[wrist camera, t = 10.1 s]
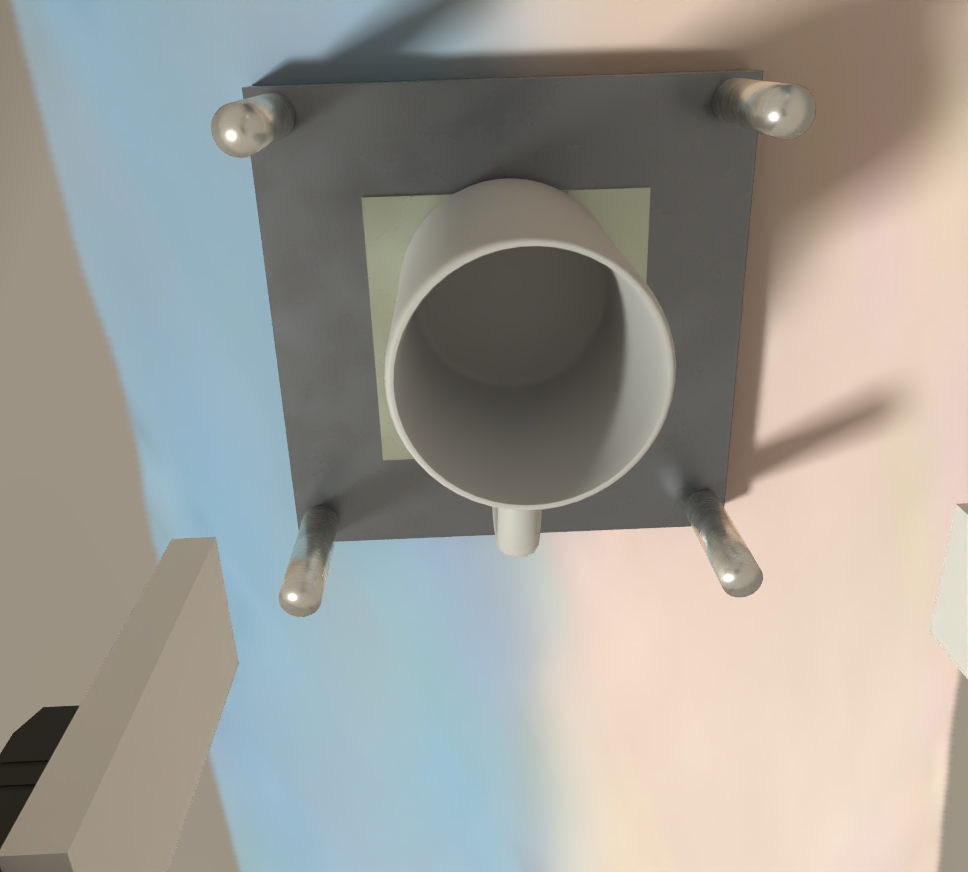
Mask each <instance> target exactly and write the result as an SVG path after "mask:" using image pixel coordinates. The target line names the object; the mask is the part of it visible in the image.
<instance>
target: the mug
mask: <svg viewBox="0 0 968 872" xmlns="http://www.w3.org/2000/svg"><path fill="white" fill-rule="evenodd" d="M675 376H676V359H675V348H674V343H673V339H672V335H671V330H670V327H669V324H668V322H667V319H666V317H665V314H664V312H663V309H662V307H661V306H660V304H659V302H658V300H657V299H656V297H655V295H654V293H653V292H652V290H651V289H650V288H649V286H648V285H647V284H646V283H645V281H644V280H643V279H642V277H641V276H640V275H639V274H638V272H637V271H636V270H635V269H634V267H633V266H632V265H631V264H630V263H629V261H628V260H627V259H626V258H625V257H624V255H623V254H622V253H621V252H620V251H619V249H618V248H617V247H616V246H615V244H614V243H613V242H612V241H611V240H610V238H609V237H608V236H607V234H606V233H605V231H604V230H603V228H602V227H601V226H600V224H599V223H598V222H597V221H596V219H595V218H594V217H593V215H592V214H591V213H590V212H589V211H588V210H587V209H586V208H585V207H583V206H582V205H581V204H580V203H579V202H577V201H576V200H575V199H573V198H572V197H570V196H569V195H568V194H566V193H564V192H562V191H560V190H558V189H556V188H554V187H552V186H549V185H546V184H544V183H541V182H536V181H532V180H527V179H515V178H507V179H495V180H490V181H484V182H481V183H478V184H475V185H472V186H469V187H467V188H465V189H463V190H461V191H458V192H456V193H455V194H453V195H452V196H450V197H449V198H447V199H446V200H444V201H443V202H442V203H440V204H439V205H438V206H437V207H436V208H435V209H434V210H432V211H431V213H430V214H429V215H428V216H427V217H426V218H425V220H424V221H423V222H422V223H421V225H420V226H419V228H418V229H417V231H416V232H415V234H414V236H413V238H412V240H411V242H410V244H409V246H408V248H407V251H406V254H405V257H404V260H403V263H402V269H401V274H400V280H399V290H398V295H397V300H396V305H395V310H394V315H393V320H392V324H391V329H390V334H389V340H388V345H387V351H386V356H385V377H384V379H385V389H386V398H387V402H388V406H389V410H390V415H391V417H392V420H393V423H394V425H395V428H396V430H397V432H398V434H399V436H400V438H401V440H402V441H403V443H404V445H405V447H406V448H407V449H408V451H409V452H410V453H411V455H412V456H413V457H414V459H415V460H416V461H417V462H418V463H419V464H420V465H421V467H422V468H423V469H424V470H425V471H426V472H427V473H428V474H429V475H431V476H432V477H433V478H434V479H436V480H437V481H438V482H440V483H441V484H442V485H444V486H445V487H447V488H449V489H450V490H452V491H454V492H455V493H457V494H459V495H461V496H463V497H466V498H468V499H470V500H473V501H475V502H478V503H482V504H485V505H488V506H492V511H493V523H494V532H495V538H496V543H497V546H498V548H499V549H500V550H501V552H502V553H504V554H506V555H508V556H512V557H524V556H528V555H530V554H532V553H534V551H535V550H536V548H537V547H538V545H539V538H540V529H541V513H542V509H548V508H554V507H560V506H564V505H567V504H570V503H574V502H577V501H580V500H582V499H584V498H587V497H589V496H591V495H594V494H596V493H598V492H599V491H601V490H603V489H605V488H606V487H608V486H610V485H611V484H613V483H614V482H615V481H617V480H618V479H619V478H621V477H622V476H624V475H625V474H626V473H627V472H628V471H629V470H630V469H631V468H632V467H633V466H634V465H635V464H636V463H638V461H639V460H640V459H641V458H642V457H643V455H644V454H645V453H646V452H647V451H648V449H649V448H650V446H651V445H652V443H653V442H654V440H655V439H656V437H657V435H658V434H659V432H660V430H661V428H662V426H663V423H664V421H665V419H666V417H667V414H668V411H669V408H670V404H671V401H672V397H673V392H674V386H675Z"/></svg>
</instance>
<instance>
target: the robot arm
mask: <svg viewBox="0 0 968 872" xmlns="http://www.w3.org/2000/svg"><path fill="white" fill-rule="evenodd" d="M930 632H931V634H932V635H933V636H934V638H935V639H936V640H937V641H938V643H939V644H940V645H941V646H942V648H943V649H944V650H945V651H946V653H947V654H948V655H949V656H950V658H951V659H952V660H953V661H954V663H955V664H956V665H957V666H958V668H959V669H960V670H961V671H962V673H963V674H964V675H965V676H966V678H967V679H968V503H967V504H956V507H955V512H954V516H953V521H952V526H951V531H950V535H949V540H948V545H947V550H946V555H945V559H944V564H943V569H942V574H941V578H940V583H939V588H938V593H937V597H936V602H935V607H934V612H933V616H932V621H931V626H930ZM238 664H239V662H238V657H237V651H236V646H235V640H234V635H233V629H232V624H231V618H230V613H229V607H228V602H227V596H226V591H225V585H224V580H223V574H222V569H221V563H220V558H219V552H218V547H217V541H216V537H207V538H185V539H172V540H171V542H170V543H169V545H168V547H167V549H166V551H165V553H164V554H163V556H162V558H161V560H160V562H159V563H158V565H157V567H156V569H155V571H154V573H153V574H152V576H151V578H150V580H149V582H148V583H147V585H146V587H145V589H144V590H143V592H142V594H141V596H140V598H139V600H138V601H137V603H136V605H135V607H134V609H133V611H132V612H131V614H130V616H129V618H128V620H127V621H126V623H125V625H124V627H123V629H122V630H121V632H120V634H119V636H118V637H117V639H116V641H115V643H114V645H113V646H112V648H111V650H110V652H109V654H108V656H107V657H106V659H105V661H104V663H103V665H102V666H101V668H100V670H99V672H98V674H97V675H96V677H95V679H94V681H93V683H92V684H91V686H90V688H89V690H88V692H87V693H86V695H85V697H84V699H83V701H82V703H81V704H80V706H61V707H43V708H42V709H41V710H40V711H39V712H37V713H36V714H35V715H34V716H33V717H32V718H31V719H29V720H28V721H27V722H26V723H25V724H23V725H22V726H21V727H20V728H19V729H18V730H17V731H15V732H14V733H13V734H12V736H11V738H10V740H9V741H8V743H7V744H6V746H5V747H4V749H3V750H2V752H1V754H0V872H168V871H169V868H170V864H171V861H172V859H173V856H174V853H175V850H176V847H177V844H178V841H179V838H180V835H181V832H182V829H183V826H184V823H185V820H186V817H187V814H188V812H189V808H190V806H191V803H192V800H193V797H194V794H195V791H196V788H197V785H198V782H199V779H200V776H201V773H202V770H203V767H204V764H205V761H206V758H207V755H208V753H209V750H210V747H211V744H212V741H213V738H214V735H215V732H216V729H217V726H218V723H219V720H220V717H221V714H222V711H223V708H224V705H225V702H226V699H227V696H228V694H229V691H230V688H231V685H232V682H233V679H234V676H235V673H236V670H237V667H238Z"/></svg>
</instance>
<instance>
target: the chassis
mask: <svg viewBox="0 0 968 872" xmlns="http://www.w3.org/2000/svg"><path fill="white" fill-rule="evenodd" d="M762 77H763V71H758V70H729V71H698V72H667V73H636V74H605V75H574V76H543V77H512V78H481V79H450V80H419V81H388V82H357V83H326V84H295V85H264V86H248V87H243V88H242V91H243V100H240V101H236V102H232V103H228V104H226V105H224V106H222V107H221V108H219V109H218V110H217V111H216V113H215V114H214V116H213V119H212V123H211V131H212V136H213V139H214V141H215V143H216V144H217V146H218V147H219V148H220V149H221V150H222V151H223V152H225V153H226V154H228V155H230V156H233V157H237V158H244V157H248V156H251V161H252V169H253V177H254V185H255V193H256V200H257V208H258V216H259V224H260V232H261V239H262V247H263V255H264V263H265V271H266V278H267V286H268V294H269V302H270V310H271V317H272V325H273V333H274V341H275V349H276V356H277V364H278V372H279V380H280V388H281V395H282V403H283V411H284V419H285V427H286V434H287V442H288V450H289V458H290V466H291V474H292V481H293V489H294V497H295V505H296V513H297V520H298V528H299V532H298V535H297V538H296V541H295V545H294V548H293V551H292V554H291V558H290V561H289V564H288V567H287V571H286V574H285V577H284V580H283V584H282V587H281V590H280V593H279V603H280V605H281V607H282V608H283V610H284V611H286V612H287V613H288V614H290V615H293V616H297V617H305V616H309V615H311V614H313V613H315V612H316V611H317V610H318V608H319V607H320V604H321V600H322V595H323V591H324V587H325V582H326V578H327V574H328V569H329V565H330V560H331V556H332V552H333V547H334V543H335V541H359V540H382V539H405V538H428V537H452V536H475V535H495V532H494V523H493V511H492V506H488V505H485V504H482V503H478V502H475V501H473V500H470V499H468V498H466V497H463V496H461V495H459V494H457V493H455V492H454V491H452V490H450V489H449V488H447V487H445V486H444V485H442V484H441V483H440V482H438V481H437V480H436V479H434V478H433V477H432V476H431V475H429V474H428V473H427V472H426V471H425V470H424V469H423V468H422V467H421V465H420V464H419V463H418V462H417V461H416V460H415V459H414V457H413V456H412V455H411V453H410V452H409V451H408V449H407V448H406V447H405V445H404V443H403V441H402V440H401V438H400V436H399V434H398V432H397V430H396V428H395V425H394V423H393V420H392V417H391V415H390V410H389V406H388V402H387V398H386V389H385V379H384V377H385V356H386V351H387V345H388V340H389V334H390V329H391V324H392V320H393V315H394V310H395V305H396V300H397V295H398V290H399V280H400V274H401V269H402V263H403V260H404V257H405V254H406V251H407V248H408V246H409V244H410V242H411V240H412V238H413V236H414V234H415V232H416V231H417V229H418V228H419V226H420V225H421V223H422V222H423V221H424V220H425V218H426V217H427V216H428V215H429V214H430V213H431V211H432V210H434V209H435V208H436V207H437V206H438V205H439V204H440V203H442V202H443V201H444V200H446V199H447V198H449V197H450V196H452V195H453V194H455V193H456V192H458V191H461V190H463V189H465V188H467V187H469V186H472V185H475V184H478V183H481V182H484V181H490V180H495V179H507V178H515V179H527V180H532V181H536V182H541V183H544V184H546V185H549V186H552V187H554V188H556V189H558V190H560V191H562V192H564V193H566V194H568V195H569V196H570V197H572V198H573V199H575V200H576V201H577V202H579V203H580V204H581V205H582V206H583V207H585V208H586V209H587V210H588V211H589V212H590V213H591V214H592V215H593V217H594V218H595V219H596V221H597V222H598V223H599V224H600V226H601V227H602V228H603V230H604V231H605V233H606V234H607V236H608V237H609V238H610V240H611V241H612V242H613V243H614V244H615V246H616V247H617V248H618V249H619V251H620V252H621V253H622V254H623V255H624V257H625V258H626V259H627V260H628V261H629V263H630V264H631V265H632V266H633V267H634V269H635V270H636V271H637V272H638V274H639V275H640V276H641V277H642V279H643V280H644V281H645V283H646V284H647V285H648V286H649V288H650V289H651V290H652V292H653V293H654V295H655V297H656V299H657V300H658V302H659V304H660V306H661V307H662V309H663V312H664V314H665V317H666V319H667V322H668V324H669V327H670V330H671V335H672V339H673V343H674V348H675V359H676V376H675V386H674V392H673V397H672V401H671V404H670V408H669V411H668V414H667V417H666V419H665V421H664V423H663V426H662V428H661V430H660V432H659V434H658V435H657V437H656V439H655V440H654V442H653V443H652V445H651V446H650V448H649V449H648V451H647V452H646V453H645V454H644V455H643V457H642V458H641V459H640V460H639V461H638V463H636V464H635V465H634V466H633V467H632V468H631V469H630V470H629V471H628V472H627V473H626V474H625V475H624V476H622V477H621V478H619V479H618V480H617V481H615V482H614V483H613V484H611V485H610V486H608V487H606V488H605V489H603V490H601V491H599V492H598V493H596V494H594V495H591V496H589V497H587V498H584V499H582V500H580V501H577V502H574V503H570V504H567V505H564V506H560V507H554V508H548V509H542V513H541V529H540V533H545V532H568V531H591V530H615V529H638V528H661V527H685V526H692V528H693V530H694V532H695V534H696V536H697V538H698V540H699V542H700V544H701V546H702V548H703V550H704V552H705V553H706V555H707V557H708V559H709V561H710V563H711V565H712V567H713V569H714V571H715V573H716V575H717V577H718V579H719V581H720V583H721V585H722V587H723V589H724V591H725V592H726V593H727V594H729V595H731V596H734V597H745V596H749V595H751V594H753V593H754V592H755V591H757V590H758V588H759V587H760V586H761V584H762V580H763V574H762V571H761V569H760V568H759V566H758V564H757V562H756V561H755V559H754V557H753V556H752V554H751V552H750V551H749V549H748V547H747V546H746V544H745V542H744V541H743V539H742V537H741V535H740V534H739V532H738V530H737V529H736V527H735V525H734V524H733V522H732V520H731V519H730V517H729V515H728V514H727V512H726V510H725V508H724V502H725V491H726V480H727V469H728V457H729V446H730V435H731V424H732V413H733V401H734V390H735V379H736V368H737V357H738V346H739V334H740V323H741V312H742V301H743V290H744V278H745V267H746V256H747V245H748V234H749V223H750V211H751V200H752V189H753V178H754V167H755V155H756V144H757V133H758V132H760V133H763V134H767V135H770V136H774V137H777V138H781V139H792V138H796V137H798V136H800V135H801V134H803V133H804V132H805V131H806V130H807V129H808V128H809V127H810V125H811V124H812V122H813V120H814V117H815V113H816V103H815V99H814V97H813V95H812V94H811V92H810V91H809V90H808V89H807V88H805V87H803V86H801V85H796V84H788V83H779V82H770V81H762Z"/></svg>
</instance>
